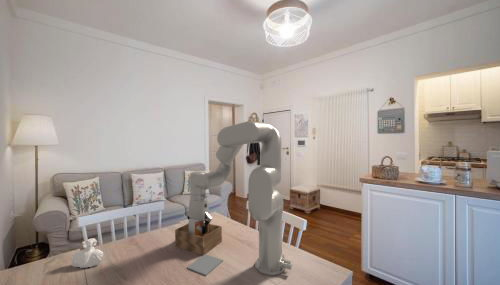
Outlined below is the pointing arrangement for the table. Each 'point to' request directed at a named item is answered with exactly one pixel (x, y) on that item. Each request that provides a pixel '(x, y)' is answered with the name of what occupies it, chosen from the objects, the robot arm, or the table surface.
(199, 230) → the small box
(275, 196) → the robot arm
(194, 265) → the pad
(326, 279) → the table surface
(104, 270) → the table surface
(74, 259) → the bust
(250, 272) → the table surface
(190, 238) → the wooden cubby frame
